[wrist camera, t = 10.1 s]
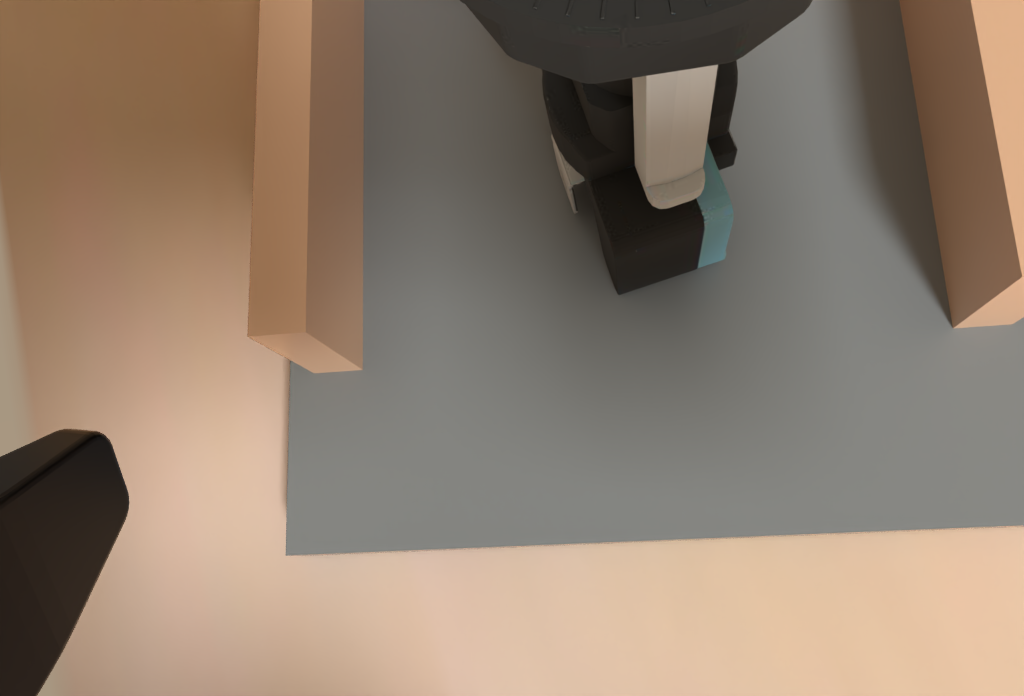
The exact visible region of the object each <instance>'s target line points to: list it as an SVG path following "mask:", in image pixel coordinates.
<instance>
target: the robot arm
mask: <svg viewBox="0 0 1024 696" xmlns="http://www.w3.org/2000/svg"><path fill="white" fill-rule="evenodd" d="M128 509H129V494H128V490H127V488H126V485H125V482H124V479H123V476H122V473H121V470H120V467H119V464H118V461H117V458H116V455H115V453H114V450H113V447H112V444H111V442H110V440H109V439H108V438H107V437H106V436H105V435H104V434H102V433H100V432H97V431H88V430H77V429H63V430H59V431H56V432H54V433H52V434H49V435H47V436H45V437H43V438H41V439H39V440H36V441H34V442H32V443H30V444H28V445H25V446H23V447H21V448H19V449H17V450H14V451H12V452H10V453H8V454H6V455H3V456H1V457H0V696H37V695H38V693H39V691H40V690H41V688H42V686H43V685H44V683H45V681H46V680H47V678H48V676H49V675H50V673H51V671H52V669H53V668H54V666H55V664H56V662H57V661H58V659H59V657H60V655H61V654H62V652H63V650H64V648H65V646H66V644H67V642H68V640H69V638H70V636H71V634H72V632H73V630H74V628H75V626H76V624H77V622H78V619H79V617H80V615H81V613H82V611H83V609H84V607H85V605H86V602H87V600H88V598H89V596H90V594H91V592H92V590H93V588H94V586H95V583H96V581H97V579H98V577H99V575H100V573H101V571H102V569H103V567H104V564H105V562H106V560H107V558H108V556H109V554H110V552H111V550H112V547H113V545H114V543H115V541H116V539H117V537H118V535H119V533H120V531H121V528H122V526H123V524H124V522H125V520H126V517H127V513H128Z"/></svg>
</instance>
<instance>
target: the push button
mask: <svg viewBox="0 0 1024 696" xmlns="http://www.w3.org/2000/svg"><path fill="white" fill-rule="evenodd" d="M460 1H461V2H462V3H464V4H465V5H466V6H467V7H468V8H469V9H470V11H471V12H472V13H473V14H474V15H475V17H476V18H477V19H478V20H479V22H480V23H481V24H482V25H483V26H484V28H485V29H486V30H487V31H488V32H489V34H490V35H491V36H492V37H493V39H494V40H495V41H496V42H497V43H498V45H499V46H500V47H501V48H502V49H503V51H504V52H505V53H506V54H507V55H508V56H510V57H511V58H513V59H515V60H517V61H519V62H522V63H525V64H528V65H531V66H534V67H537V68H540V69H542V88H543V97H544V101H545V106H546V110H547V115H548V119H549V124H550V128H551V131H552V135H551V138H552V141H553V147H554V152H555V156H556V160H557V165H558V168H559V172H560V175H561V178H562V181H563V184H564V186H565V189H566V192H567V195H568V198H569V201H570V204H571V207H572V209H573V212H574V214H576V213H578V209H577V204H576V199H575V194H574V190H573V187H574V186H575V185H578V184H580V183H583V182H586V185H587V188H588V191H589V194H590V198H591V201H592V205H593V209H594V214H595V218H596V223H597V228H598V232H599V237H600V242H601V247H602V251H603V255H604V258H605V261H606V264H607V267H608V270H609V273H610V276H611V279H612V281H613V284H614V287H615V290H616V292H617V294H618V295H621V294H624V293H627V292H630V291H633V290H636V289H639V288H642V287H645V286H648V285H651V284H654V283H657V282H660V281H663V280H666V279H669V278H672V277H675V276H678V275H681V274H684V273H687V272H690V271H693V270H696V269H697V268H700V267H703V266H706V265H709V264H712V263H715V262H718V261H721V260H724V259H725V257H726V247H727V243H728V239H729V235H730V231H731V228H732V224H733V220H734V213H733V208H732V204H731V201H730V198H729V195H728V192H727V190H726V187H725V185H724V182H723V180H722V177H721V175H720V172H719V170H721V169H724V168H727V167H730V166H733V165H734V163H735V159H736V155H737V150H738V149H737V147H736V144H735V142H734V140H733V137H732V135H731V132H730V130H729V127H730V122H731V117H732V112H733V107H734V102H735V97H736V92H737V85H738V69H737V61H736V60H738V59H740V58H742V57H743V56H745V55H746V54H747V53H749V52H750V51H751V50H753V49H754V48H756V47H757V46H758V45H760V44H761V43H763V42H764V41H765V40H767V39H768V38H770V37H771V36H772V35H774V34H775V33H777V32H778V31H779V30H781V29H782V28H783V27H785V26H786V25H788V24H789V23H790V22H792V21H793V20H795V19H796V18H797V17H799V16H800V15H801V14H803V13H804V12H805V11H806V10H807V8H808V7H809V6H810V4H811V2H812V0H460Z"/></svg>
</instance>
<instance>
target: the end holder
mask: <svg viewBox="0 0 1024 696" xmlns="http://www.w3.org/2000/svg"><path fill="white" fill-rule="evenodd" d="M736 61H737V69H738V85H737V92H736V97H735V102H734V107H733V112H732V117H731V122H730V127H729V130H730V132H731V135H732V137H733V140H734V142H735V144H736V147H737V149H738V150H737V155H736V159H735V163H734V165H733V166H730V167H727V168H724V169H721V170H719V172H720V175H721V177H722V180H723V182H724V185H725V187H726V190H727V192H728V195H729V198H730V201H731V204H732V208H733V213H734V220H733V224H732V228H731V231H730V235H729V239H728V243H727V247H726V257H725V259H724V260H721V261H718V262H715V263H712V264H709V265H706V266H703V267H700V268H697V269H696V270H693V271H690V272H687V273H684V274H681V275H678V276H675V277H672V278H669V279H666V280H663V281H660V282H657V283H654V284H651V285H648V286H645V287H642V288H639V289H636V290H633V291H630V292H627V293H624V294H621V295H618V294H617V292H616V290H615V287H614V284H613V281H612V279H611V276H610V273H609V270H608V267H607V264H606V261H605V258H604V255H603V251H602V247H601V242H600V237H599V232H598V228H597V223H596V218H595V214H594V209H593V205H592V201H591V198H590V194H589V191H588V188H587V185H586V182H583V183H580V184H578V185H575V186H574V187H573V190H574V194H575V199H576V204H577V209H578V213H576V214H574V212H573V209H572V207H571V204H570V201H569V198H568V195H567V192H566V189H565V186H564V184H563V181H562V178H561V175H560V172H559V168H558V165H557V160H556V156H555V152H554V147H553V141H552V138H551V135H552V131H551V128H550V124H549V119H548V115H547V110H546V106H545V101H544V97H543V88H542V69H540V68H537V67H534V66H531V65H528V64H525V63H522V62H519V61H517V60H515V59H513V58H511V57H510V56H508V55H507V54H506V53H505V52H504V51H503V49H502V48H501V47H500V46H499V45H498V43H497V42H496V41H495V40H494V39H493V37H492V36H491V35H490V34H489V32H488V31H487V30H486V29H485V28H484V26H483V25H482V24H481V23H480V22H479V20H478V19H477V18H476V17H475V15H474V14H473V13H472V12H471V11H470V9H469V8H468V7H467V6H466V5H465V4H464V3H462V2H461V1H460V0H260V10H259V38H258V65H257V93H256V120H255V148H254V175H253V203H252V231H251V258H250V286H249V313H248V337H249V338H251V339H253V340H255V341H257V342H258V343H260V344H262V345H264V346H266V347H267V348H269V349H271V350H273V351H275V352H276V353H278V354H280V355H282V356H284V357H285V358H287V359H289V360H290V399H289V441H288V482H287V524H286V556H308V555H333V554H357V553H382V552H406V551H431V550H455V549H480V548H504V547H529V546H553V545H578V544H602V543H627V542H651V541H676V540H700V539H725V538H749V537H774V536H798V535H823V534H847V533H872V532H896V531H921V530H945V529H970V528H994V527H1019V526H1024V0H812V2H811V4H810V6H809V7H808V8H807V10H806V11H805V12H804V13H803V14H801V15H800V16H799V17H797V18H796V19H795V20H793V21H792V22H790V23H789V24H788V25H786V26H785V27H783V28H782V29H781V30H779V31H778V32H777V33H775V34H774V35H772V36H771V37H770V38H768V39H767V40H765V41H764V42H763V43H761V44H760V45H758V46H757V47H756V48H754V49H753V50H751V51H750V52H749V53H747V54H746V55H745V56H743V57H742V58H740V59H738V60H736Z"/></svg>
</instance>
